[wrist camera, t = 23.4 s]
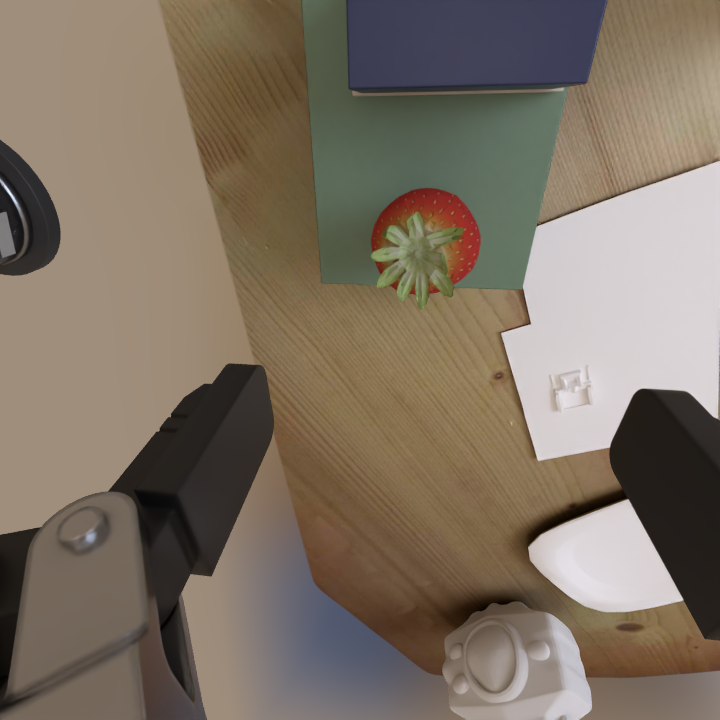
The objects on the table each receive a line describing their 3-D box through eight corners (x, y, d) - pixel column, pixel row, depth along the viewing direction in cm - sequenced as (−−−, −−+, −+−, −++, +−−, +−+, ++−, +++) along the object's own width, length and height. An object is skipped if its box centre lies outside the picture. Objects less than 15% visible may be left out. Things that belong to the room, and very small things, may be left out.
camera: (574, 609, 56) (623, 765, 43) (468, 635, 64) (481, 773, 51) (533, 573, 52) (574, 730, 39) (427, 605, 60) (430, 745, 47)
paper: (732, 421, 36) (740, 429, 35) (539, 465, 41) (542, 472, 41) (718, 146, 25) (729, 147, 24) (460, 256, 31) (461, 261, 30)
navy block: (354, 96, 20) (338, 92, 16) (352, -20, 18) (332, -62, 13) (557, 92, 19) (597, 86, 15) (583, -33, 17) (641, -83, 12)
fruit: (373, 181, 22) (355, 211, 15) (470, 169, 21) (496, 195, 15) (382, 268, 25) (370, 325, 18) (469, 260, 24) (489, 318, 17)
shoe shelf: (338, 251, 32) (321, 283, 26) (324, -62, 22) (291, -125, 16) (501, 255, 30) (522, 290, 24) (564, -78, 21) (623, -152, 15)
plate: (504, 533, 49) (507, 546, 47) (692, 459, 39) (703, 472, 37) (593, 609, 55) (598, 622, 54) (773, 562, 46) (784, 577, 44)
